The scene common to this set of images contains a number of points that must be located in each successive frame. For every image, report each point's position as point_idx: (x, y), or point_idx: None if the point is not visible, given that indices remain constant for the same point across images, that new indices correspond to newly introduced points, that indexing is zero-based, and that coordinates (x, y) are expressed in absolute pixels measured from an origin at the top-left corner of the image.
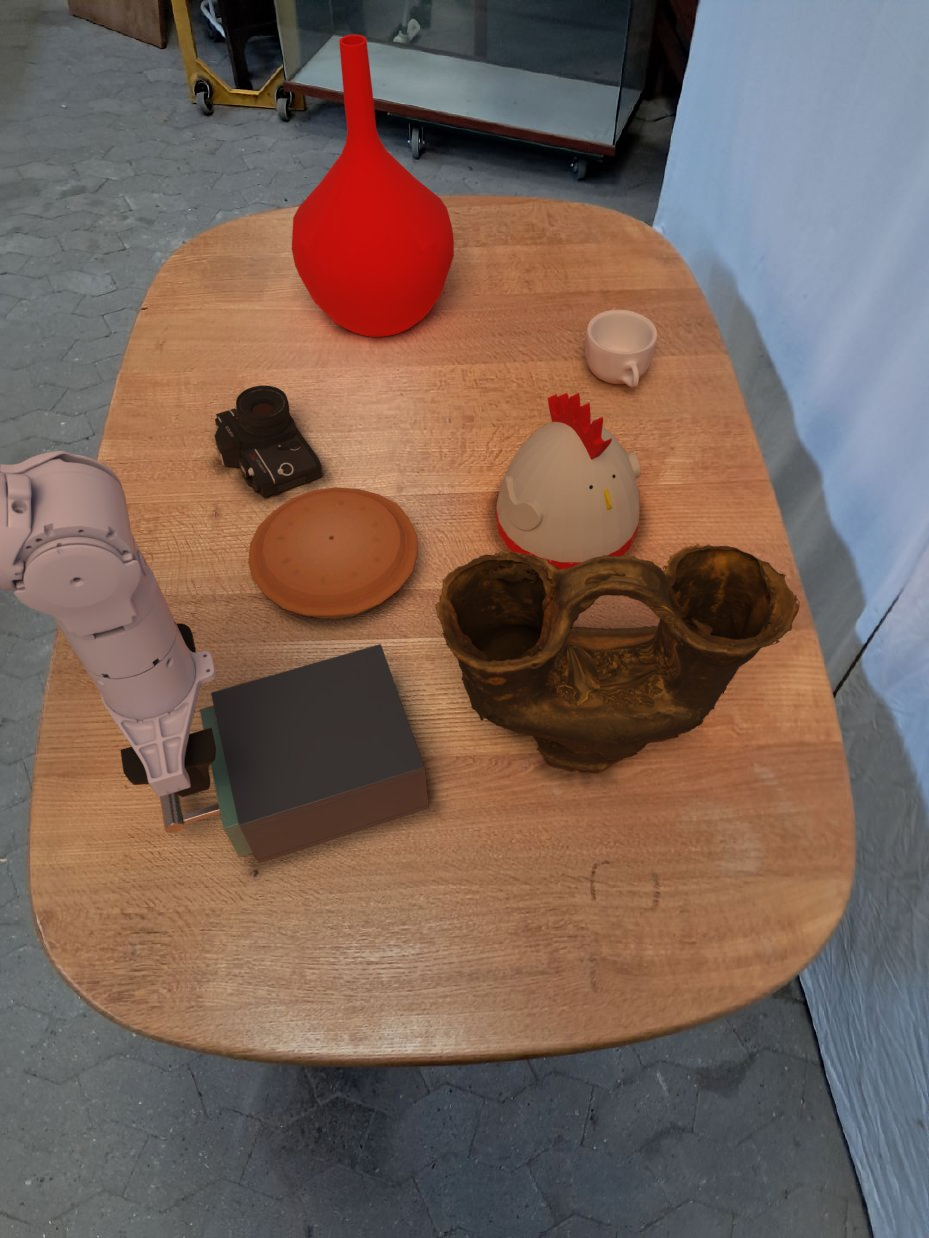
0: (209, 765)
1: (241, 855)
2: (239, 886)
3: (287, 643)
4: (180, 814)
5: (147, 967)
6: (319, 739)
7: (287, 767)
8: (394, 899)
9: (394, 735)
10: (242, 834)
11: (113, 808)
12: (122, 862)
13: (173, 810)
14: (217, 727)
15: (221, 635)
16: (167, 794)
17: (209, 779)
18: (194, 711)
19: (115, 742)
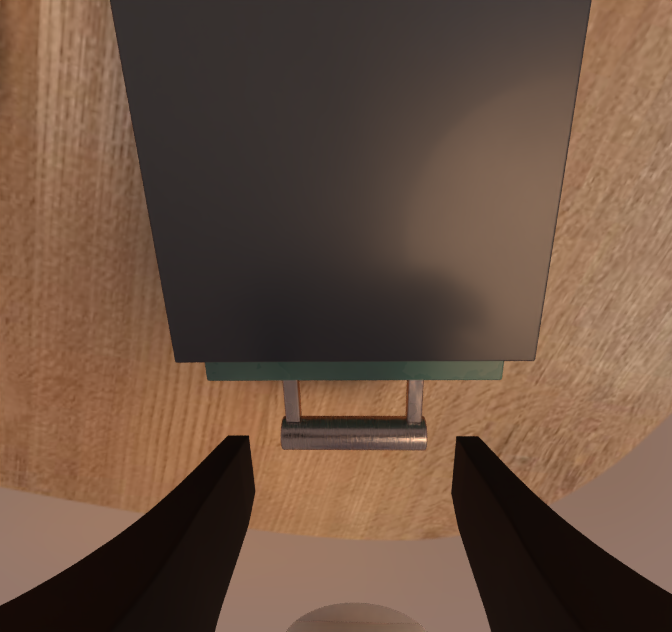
0: (630, 568)
1: None
2: None
3: (41, 156)
4: (407, 424)
5: (551, 449)
6: (386, 125)
7: (438, 230)
8: (652, 70)
9: None
10: None
11: (309, 462)
12: (393, 460)
13: (400, 437)
14: None
15: (15, 277)
16: (366, 443)
17: (501, 461)
18: (248, 436)
19: (203, 449)
